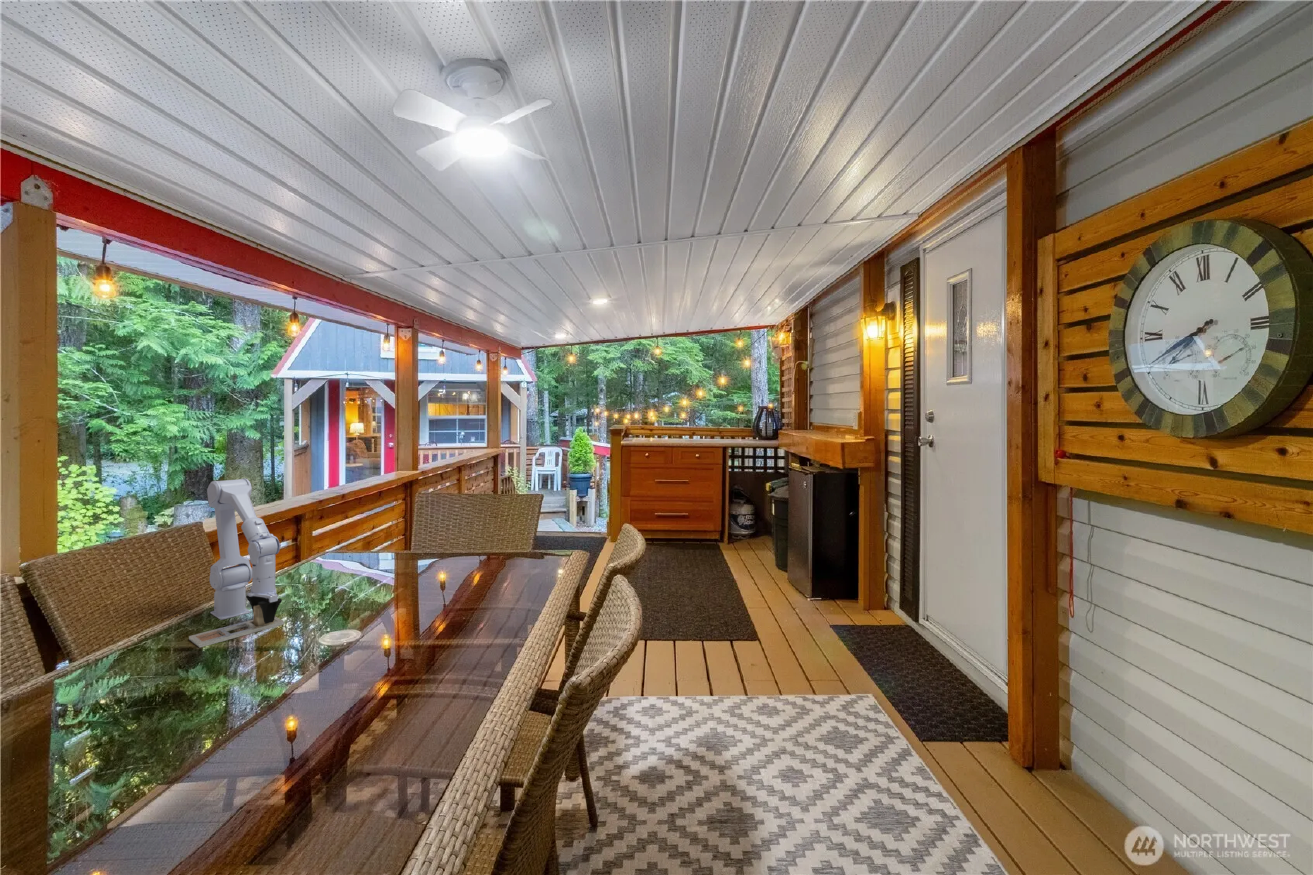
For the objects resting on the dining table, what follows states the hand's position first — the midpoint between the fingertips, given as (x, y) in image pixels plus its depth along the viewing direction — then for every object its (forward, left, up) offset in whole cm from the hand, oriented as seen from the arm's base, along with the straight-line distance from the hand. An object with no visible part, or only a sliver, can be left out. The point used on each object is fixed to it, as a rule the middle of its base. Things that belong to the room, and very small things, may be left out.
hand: (263, 619), depth 161 cm
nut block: (0, 0, -2) cm, 2 cm away
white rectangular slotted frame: (0, -7, -2) cm, 7 cm away
